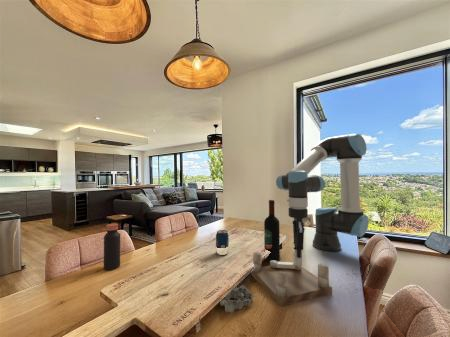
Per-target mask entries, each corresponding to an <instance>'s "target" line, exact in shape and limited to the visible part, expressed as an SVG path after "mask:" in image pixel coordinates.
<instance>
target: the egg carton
mask: <svg viewBox="0 0 450 337" xmlns="http://www.w3.org/2000/svg"><path fill="white" fill-rule="evenodd" d="M233 288H234V289H233ZM233 288H232V289H233V290H232V291H231V292H230V293H229V294H227V296H226V297H225V298H224V299H222V300H221V301H220V306H221V307H224V311H225V312H226V313H228V312H229V313H234V312H235V310H236V309H239V310H242V309H243V307H244V306H248V307H250V306H252V303H253V300H254V298H255V296H254V295H253V294H252V292H250V290H249V289H248V288H246V286H245V284H242V285H240V286H238V287H233ZM231 298H232V299H236V300H232V299H231Z"/></svg>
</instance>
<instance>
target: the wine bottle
mask: <svg viewBox="0 0 450 337" xmlns="http://www.w3.org/2000/svg"><path fill="white" fill-rule="evenodd" d="M263 224H264V227H263V228H264V229H263V230H264V233H263V234H264V236H263V237H264V241H263V242H264V243H263V244H264V248H265V249H266V250H268V251H270V252H271V253H270V254H269V256H268V257H267V258H266V259H265V258H264V260H265V261H266V262H269V263H270V261H271V260H275V261H277V262H281V261H280V260H281V259H280V258H281V256H280V255H281V253H280V252H281V250H280V246H281V244H280V237H281V236H280V233H281V232H280V220H279V218H277V216H275V200H274V199H269V200H268V216H267V217H266V218H265V219H264V222H263Z"/></svg>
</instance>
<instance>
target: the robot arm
mask: <svg viewBox="0 0 450 337" xmlns="http://www.w3.org/2000/svg"><path fill="white" fill-rule="evenodd" d="M366 154H367V143H366V140H365V138H364V137H363V136H362V135H361V134H359V133H349V134H342V135H337V136H331V137H330V136H329V137H327V138H325V139H323V140H321V141H320V142H318V143H317V144H315V145H314V146H313V147H312V148H311V149H310V152H309V153H308V154H307V155H306V156H305V157H303V158H302V160H300V161H299V162H298V163H296V165H295V166H294V167H293V168H291V169H290V170H289V171H288V172H287V173H286V174H280V175H278V176H277V177H276V180H275V184H276V187H277V188H278V189H279V190H283V191H288V198H287V200H286V201H287V202H288V216H289V217H290V218H293V220H292V232H293V244H294V246H293V250H295V265H302V266H303V251H304V239H305V238H304V237H305V236H304V235H305V228H304V227H305V223H304V222H303V220H304V219H307V218H308V217H309V216H308V214H309V211H308V207H309V202H308V199H309V198H308V193H318V192H321V191H323V190H324V188H325V186H326V182H325V179H324V177H322V176H320V175H316V174H315V175H314V174H312V175H309V174H310V173H311V172H312V171H313V170H314V169H315V168H316V167H317V166H318V165H319V164H320V163H321V162H324V161H325V160H326V159H329V158H336V160H337V161H338V162H339V169H340V170H339V173H340V203H341V205H340V206H339V208H337V207H335V206H334V207H333V206H331V207H330V206H329V207H317V208H316V209H315V214H314V219H315V234H314V237H313V239H312V246H313V247H314V248H316V249H319V250H322V251H324V252H325V251H327V252H339V251H341V250H342V245H341V242H340V239H339V238H340V237H339V236H338V235H339V234H338V233H341V234H346V235H349V236H355V237H363V236H364V235H365V234H366V232H367V231H368V228H369V222H370V221H369V217H368V215H367V214H365V213H364V210H363V208H361V206H360V205H361V202H360V201H361V200H360V199H361V198H360V174H359V173H360V170H359V169H360V168H359V167H360V165H359V162H360V161H362V159H363V156H364V155H366Z"/></svg>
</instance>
